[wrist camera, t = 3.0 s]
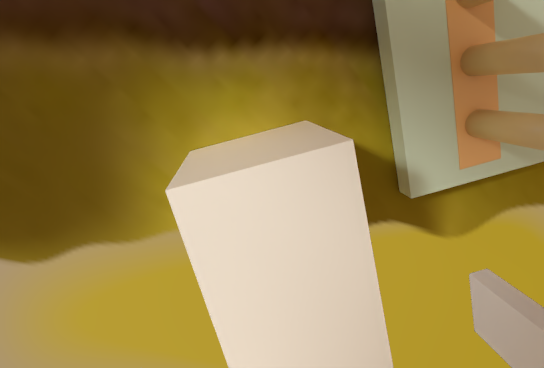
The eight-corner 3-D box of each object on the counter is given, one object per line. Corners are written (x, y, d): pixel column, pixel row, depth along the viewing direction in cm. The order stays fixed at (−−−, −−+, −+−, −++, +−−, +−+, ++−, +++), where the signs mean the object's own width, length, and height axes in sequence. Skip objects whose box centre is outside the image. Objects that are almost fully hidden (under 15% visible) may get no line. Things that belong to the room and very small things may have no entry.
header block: (399, 191, 22) (466, 232, 16) (364, -53, 18) (436, -128, 12) (528, 155, 22) (643, 180, 16) (522, -91, 18) (673, -184, 12)
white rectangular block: (347, 313, 24) (402, 418, 16) (252, 342, 24) (262, 462, 16) (305, 120, 20) (352, 139, 12) (190, 151, 20) (165, 190, 12)
